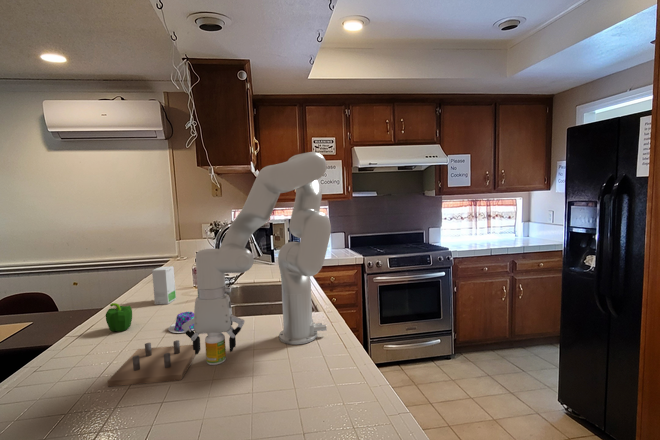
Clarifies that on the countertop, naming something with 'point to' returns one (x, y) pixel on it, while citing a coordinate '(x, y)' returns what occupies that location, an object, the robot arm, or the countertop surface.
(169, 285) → the skincare box
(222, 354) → the supplement bottle
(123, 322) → the bell pepper
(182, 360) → the peg cradle
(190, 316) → the pudding
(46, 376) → the countertop surface
